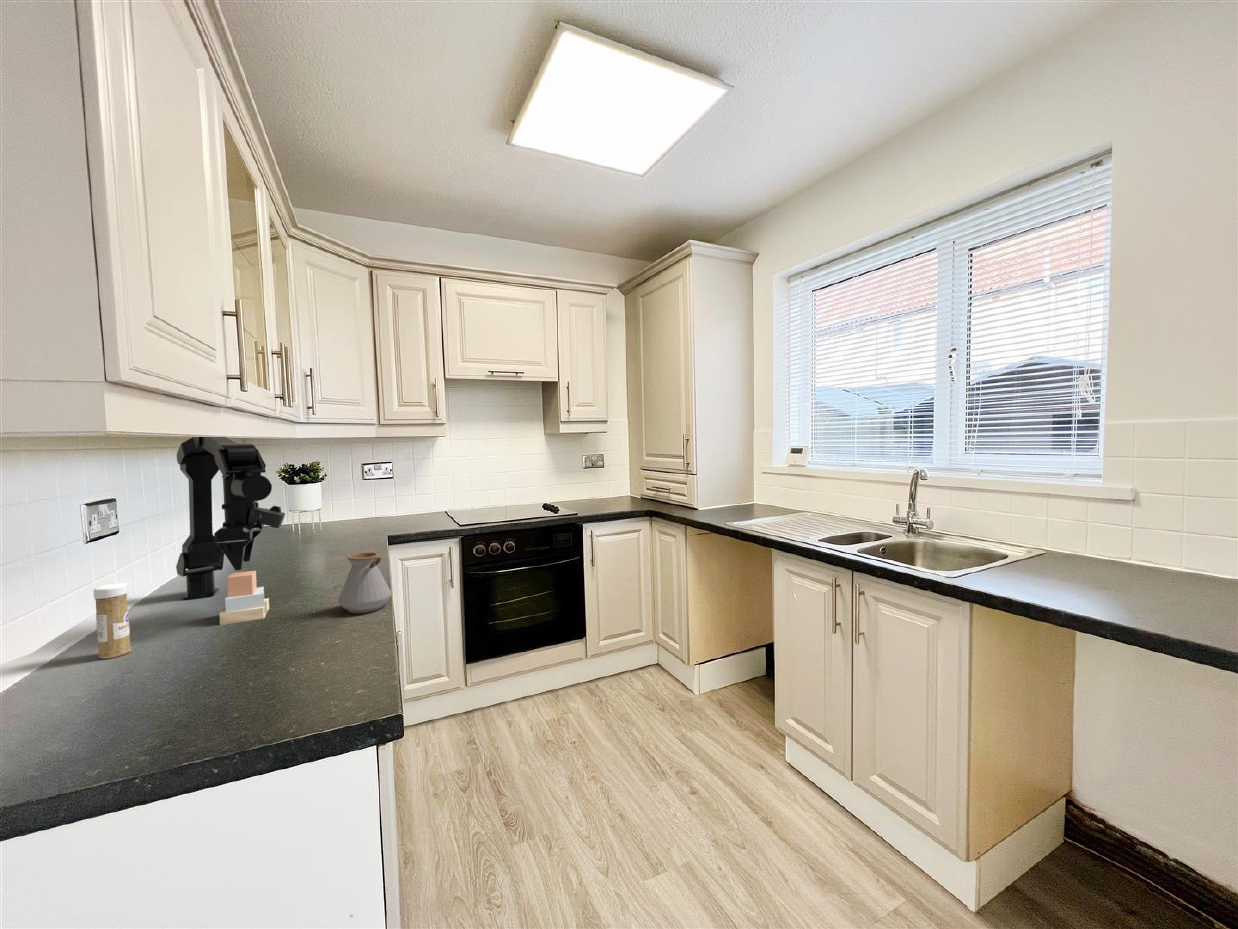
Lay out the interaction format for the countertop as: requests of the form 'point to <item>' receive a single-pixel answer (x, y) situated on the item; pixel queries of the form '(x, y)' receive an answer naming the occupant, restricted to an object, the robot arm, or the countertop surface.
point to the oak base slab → (244, 614)
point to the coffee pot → (364, 585)
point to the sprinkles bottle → (112, 620)
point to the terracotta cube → (242, 583)
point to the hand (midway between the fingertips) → (242, 565)
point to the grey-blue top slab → (245, 601)
